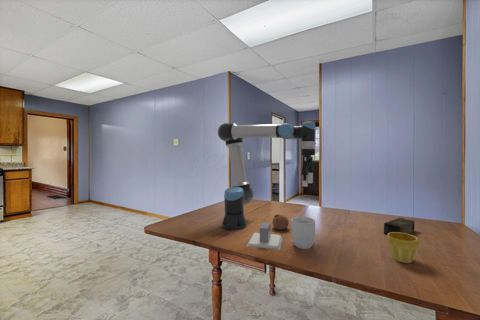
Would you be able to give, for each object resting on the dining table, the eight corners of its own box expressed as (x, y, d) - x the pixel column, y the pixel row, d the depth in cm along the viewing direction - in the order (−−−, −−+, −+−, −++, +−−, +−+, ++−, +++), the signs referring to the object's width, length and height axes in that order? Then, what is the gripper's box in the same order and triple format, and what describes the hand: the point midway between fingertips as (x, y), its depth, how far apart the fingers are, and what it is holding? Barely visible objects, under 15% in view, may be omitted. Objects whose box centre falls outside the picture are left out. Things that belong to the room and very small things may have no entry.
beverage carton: (415, 231, 123) (415, 219, 123) (399, 239, 113) (399, 226, 113) (399, 227, 130) (399, 216, 129) (382, 234, 120) (382, 222, 119)
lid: (248, 245, 106) (248, 228, 106) (254, 234, 119) (254, 220, 119) (278, 248, 102) (277, 231, 102) (280, 237, 116) (280, 221, 115)
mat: (246, 247, 105) (246, 246, 105) (253, 235, 121) (253, 234, 121) (280, 250, 101) (279, 249, 101) (282, 237, 116) (282, 236, 116)
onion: (274, 234, 128) (266, 219, 129) (283, 226, 135) (275, 211, 135) (286, 233, 121) (277, 217, 122) (294, 224, 128) (286, 209, 128)
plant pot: (381, 254, 96) (381, 232, 96) (403, 252, 97) (403, 231, 97) (400, 266, 86) (400, 241, 86) (424, 264, 87) (425, 240, 86)
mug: (304, 238, 115) (304, 213, 115) (324, 244, 107) (324, 218, 106) (286, 246, 106) (286, 219, 105) (306, 254, 97) (306, 225, 97)
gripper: (310, 148, 116) (309, 188, 117) (319, 148, 137) (318, 182, 138) (295, 148, 119) (295, 187, 120) (306, 148, 141) (306, 181, 142)
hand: (307, 184), depth 129 cm, fingers open, 13 cm apart
